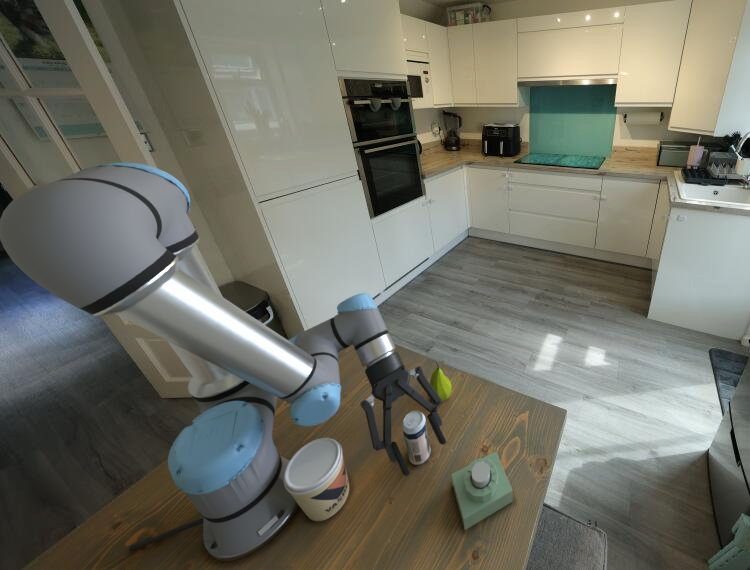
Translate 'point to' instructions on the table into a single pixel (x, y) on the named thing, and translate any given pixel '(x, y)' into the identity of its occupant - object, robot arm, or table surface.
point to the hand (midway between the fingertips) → (425, 457)
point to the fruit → (441, 384)
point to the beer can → (416, 437)
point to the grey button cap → (480, 474)
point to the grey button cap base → (481, 491)
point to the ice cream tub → (318, 478)
